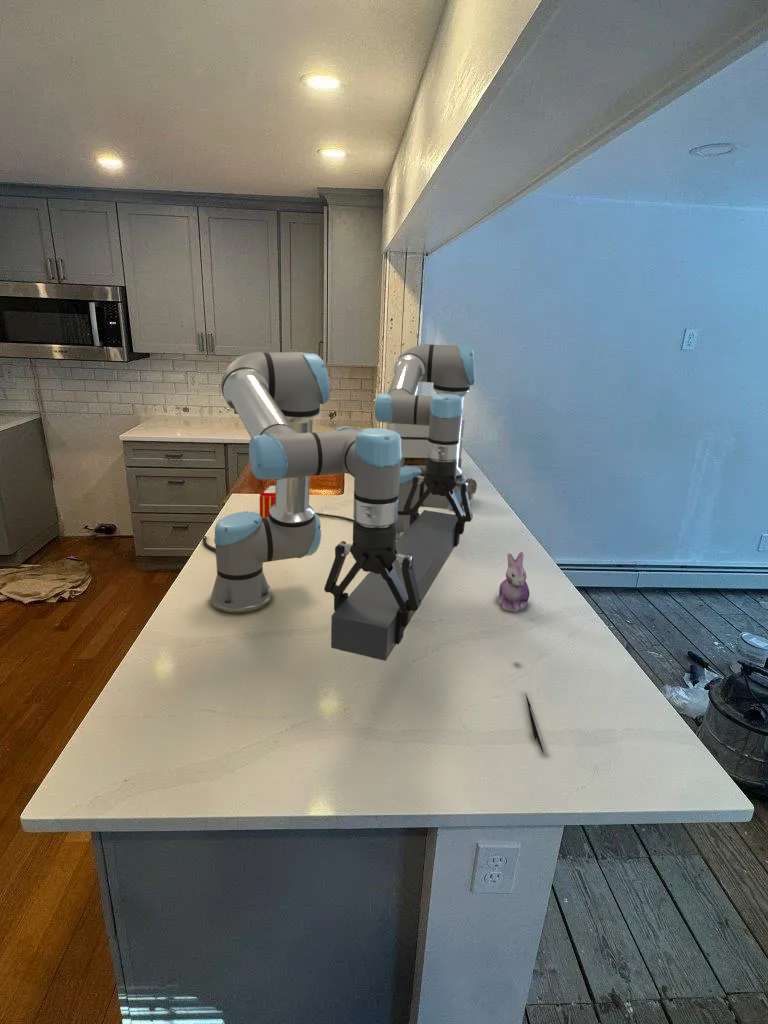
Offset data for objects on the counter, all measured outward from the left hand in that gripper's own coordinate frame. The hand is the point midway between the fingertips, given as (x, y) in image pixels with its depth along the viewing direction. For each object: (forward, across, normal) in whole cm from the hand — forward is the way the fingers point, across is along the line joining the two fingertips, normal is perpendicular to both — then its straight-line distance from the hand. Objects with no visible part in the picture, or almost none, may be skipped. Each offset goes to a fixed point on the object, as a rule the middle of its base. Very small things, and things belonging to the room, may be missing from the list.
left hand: (370, 633), depth 104 cm
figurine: (+19, +21, +57) cm, 63 cm away
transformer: (+19, -39, +172) cm, 177 cm away
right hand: (0, 0, +48) cm, 48 cm away
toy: (+19, -69, +88) cm, 113 cm away
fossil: (+19, -11, +136) cm, 137 cm away
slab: (+1, 0, +24) cm, 24 cm away
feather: (+18, +29, +15) cm, 38 cm away
